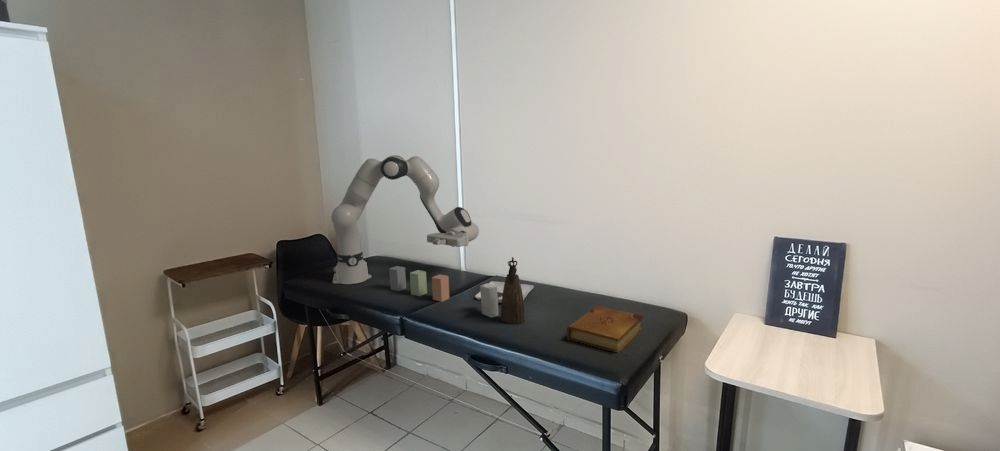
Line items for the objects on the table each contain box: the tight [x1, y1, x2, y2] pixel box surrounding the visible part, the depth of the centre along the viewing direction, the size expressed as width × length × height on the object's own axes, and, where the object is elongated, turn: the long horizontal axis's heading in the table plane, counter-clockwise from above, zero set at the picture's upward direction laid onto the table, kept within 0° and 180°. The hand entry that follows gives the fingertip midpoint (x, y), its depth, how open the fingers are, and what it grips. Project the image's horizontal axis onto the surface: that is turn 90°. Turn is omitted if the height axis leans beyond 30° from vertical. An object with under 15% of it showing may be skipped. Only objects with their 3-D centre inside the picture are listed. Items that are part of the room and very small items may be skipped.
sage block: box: [409, 269, 428, 297], centre depth 207 cm, size 5×5×10 cm
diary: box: [566, 305, 644, 354], centre depth 165 cm, size 23×19×6 cm
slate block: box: [388, 265, 407, 292], centre depth 214 cm, size 5×5×10 cm
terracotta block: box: [431, 274, 450, 303], centre depth 200 cm, size 5×5×10 cm
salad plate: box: [474, 280, 535, 304], centre depth 205 cm, size 21×21×3 cm
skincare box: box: [479, 282, 499, 318], centre depth 184 cm, size 6×4×12 cm
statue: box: [500, 257, 526, 325], centre depth 176 cm, size 9×8×25 cm
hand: (435, 243), depth 214 cm, fingers closed
